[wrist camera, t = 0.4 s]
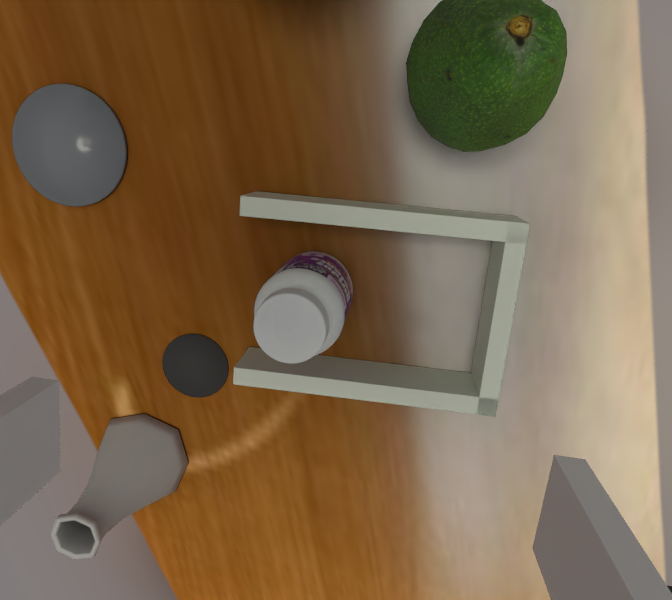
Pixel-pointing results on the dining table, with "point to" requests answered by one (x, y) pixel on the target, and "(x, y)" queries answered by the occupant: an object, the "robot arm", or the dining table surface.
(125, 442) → the flask
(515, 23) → the fruit
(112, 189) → the coaster
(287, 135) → the dining table surface
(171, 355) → the hole pad
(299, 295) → the pill bottle
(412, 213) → the frame
